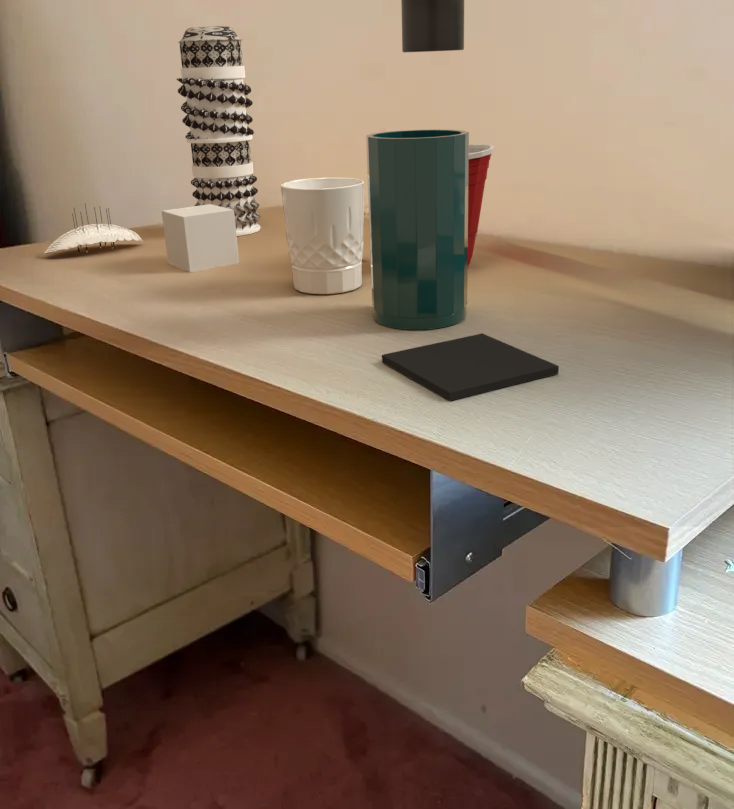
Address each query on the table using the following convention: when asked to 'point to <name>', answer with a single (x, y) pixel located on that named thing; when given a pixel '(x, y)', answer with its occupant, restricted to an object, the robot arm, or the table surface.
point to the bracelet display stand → (219, 122)
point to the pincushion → (92, 236)
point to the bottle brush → (432, 25)
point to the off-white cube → (200, 237)
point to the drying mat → (468, 366)
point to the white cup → (325, 233)
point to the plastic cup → (476, 189)
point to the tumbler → (418, 227)
